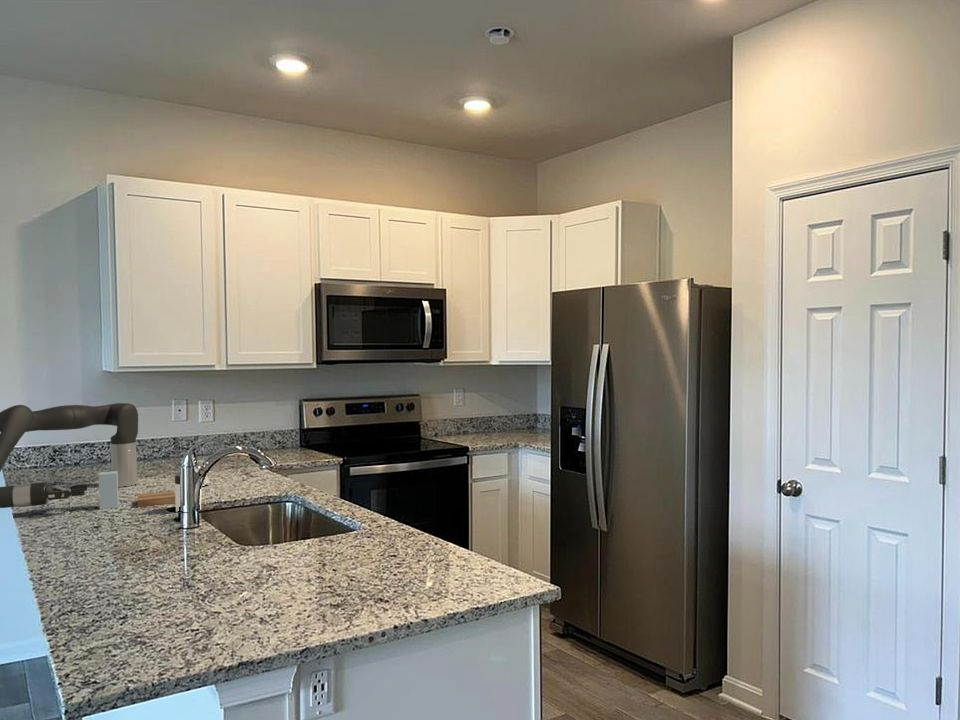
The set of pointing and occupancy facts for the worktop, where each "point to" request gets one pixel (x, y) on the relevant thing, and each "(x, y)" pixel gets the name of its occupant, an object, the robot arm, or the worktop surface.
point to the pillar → (108, 490)
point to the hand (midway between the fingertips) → (85, 489)
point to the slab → (156, 498)
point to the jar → (177, 492)
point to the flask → (206, 475)
